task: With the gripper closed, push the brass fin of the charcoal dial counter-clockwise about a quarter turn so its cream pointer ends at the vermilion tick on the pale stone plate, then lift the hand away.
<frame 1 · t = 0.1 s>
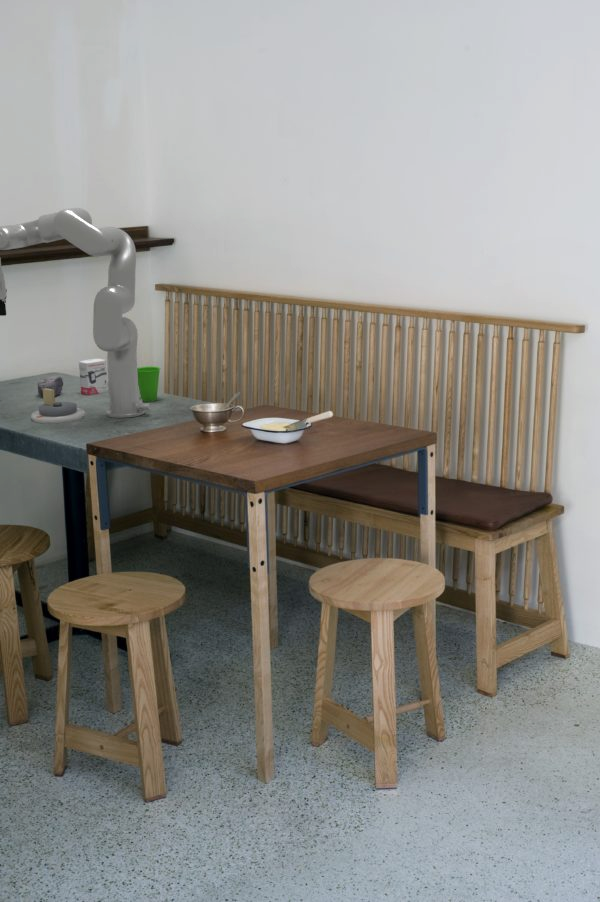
cup: (149, 400, 380), on the table
pumice stone: (50, 396, 392), on the table
dial: (56, 401, 356), point 5 cm above the table, hinge at 0.0°
plate: (58, 417, 357), on the table
ink box: (94, 393, 395), on the table
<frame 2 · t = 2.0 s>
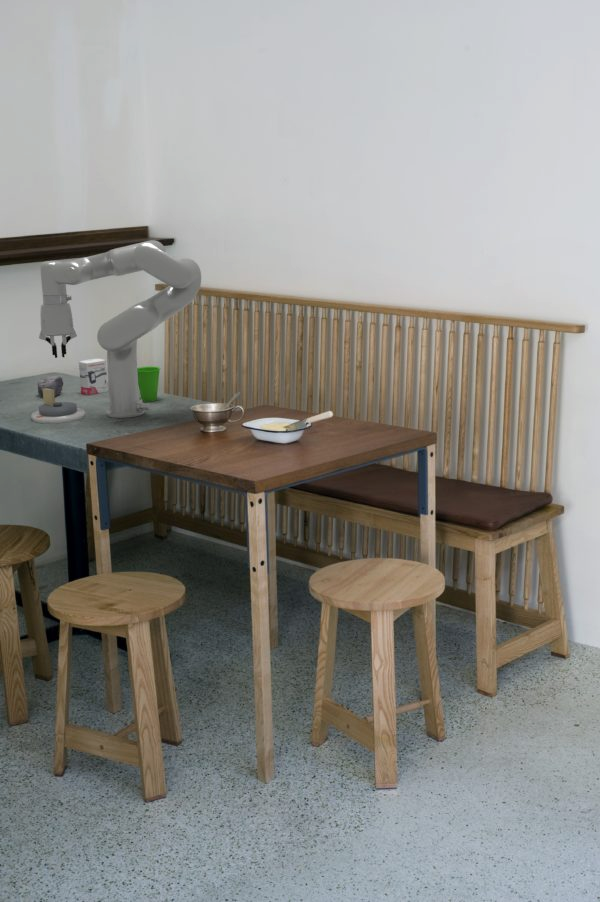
hand: (59, 356, 357), 19 cm above the table, fingers closed
nothing on the table moved.
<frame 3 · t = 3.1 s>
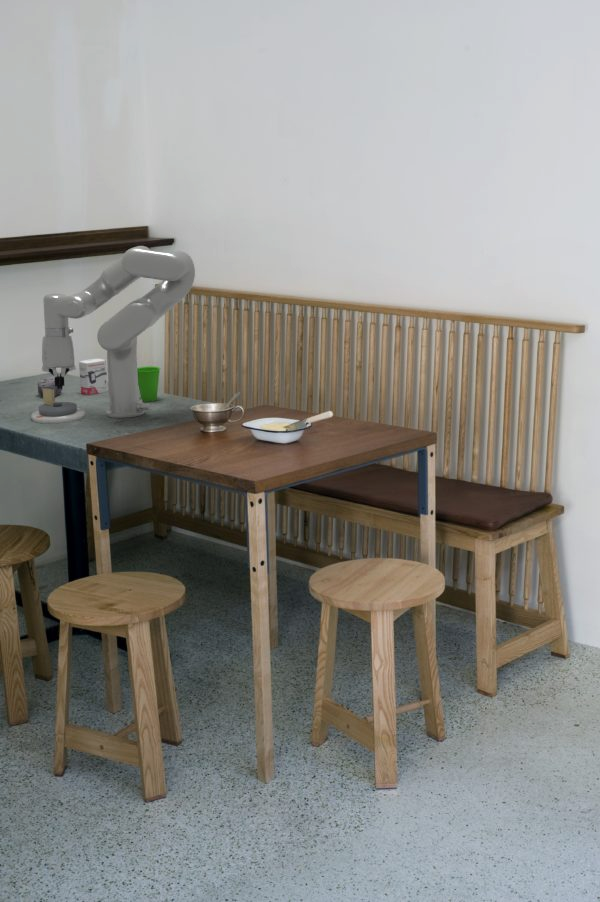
hand: (59, 388, 360), 9 cm above the table, fingers closed
nothing on the table moved.
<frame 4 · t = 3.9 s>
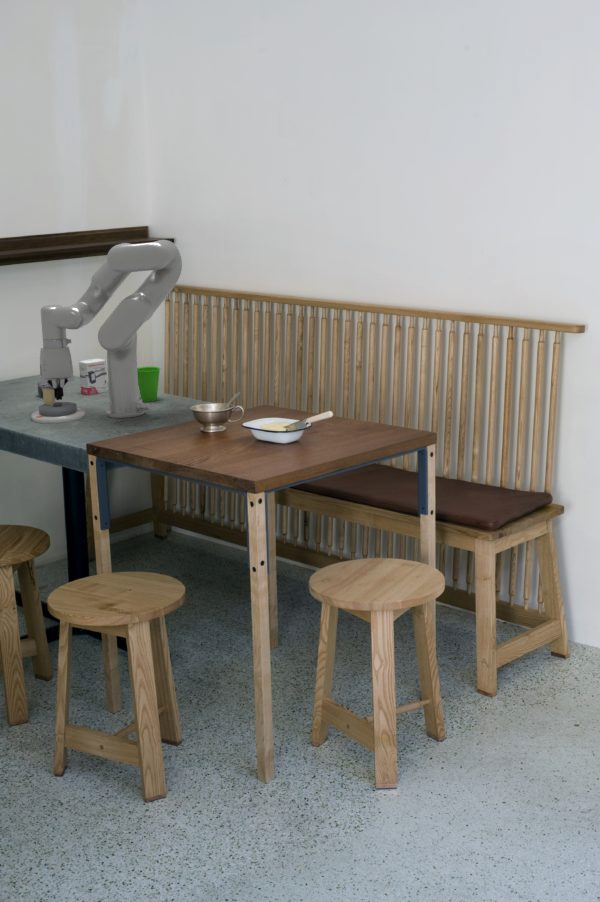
hand: (58, 399, 360), 5 cm above the table, fingers closed
dial: (56, 401, 356), point 5 cm above the table, hinge at 0.0°, touching gripper
everything else where it was.
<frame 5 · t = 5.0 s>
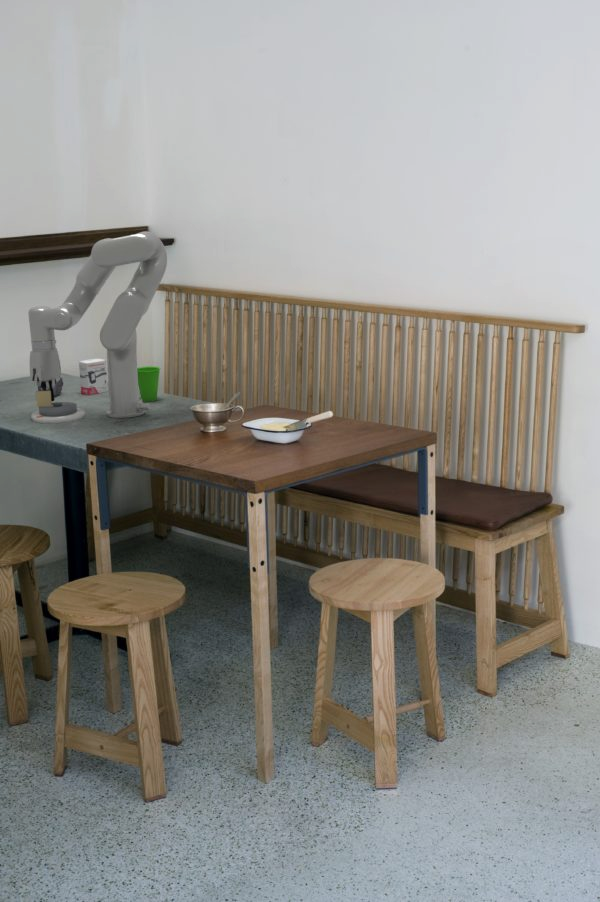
hand: (49, 401, 359), 5 cm above the table, fingers closed
dial: (56, 401, 356), point 5 cm above the table, hinge at 41.3°, touching gripper
everything else where it was.
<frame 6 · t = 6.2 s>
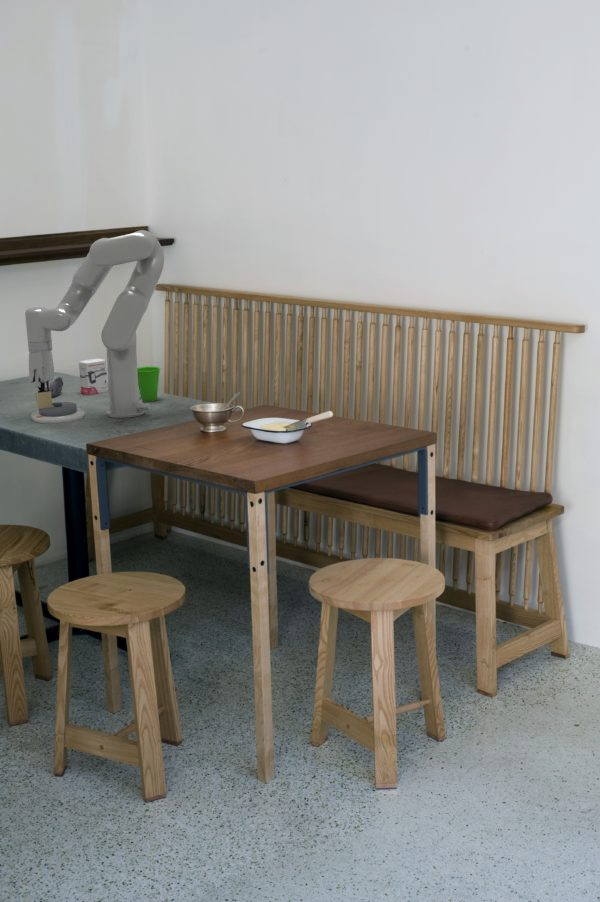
hand: (45, 402, 358), 5 cm above the table, fingers closed
dial: (56, 401, 356), point 5 cm above the table, hinge at 71.0°
everything else where it was.
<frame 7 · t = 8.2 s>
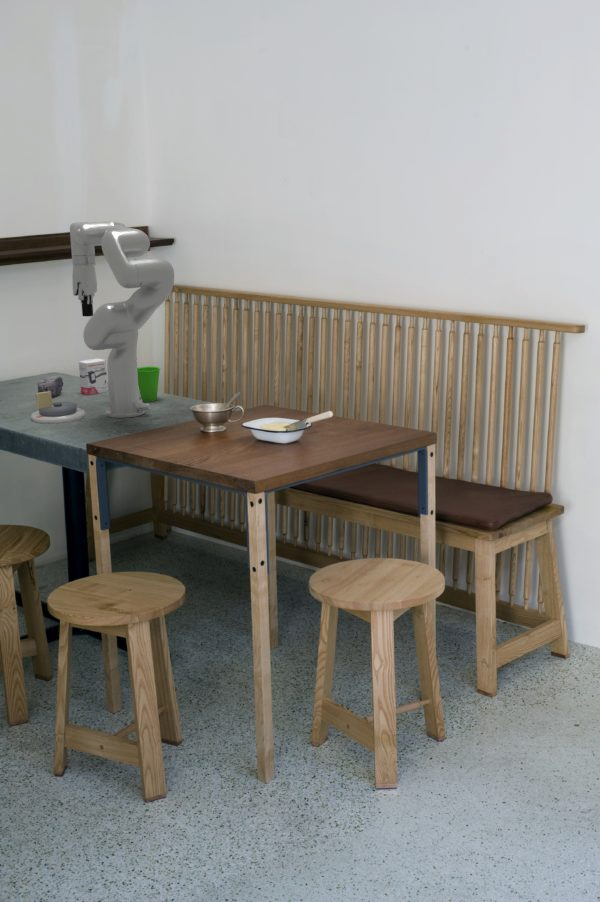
hand: (87, 315, 367), 30 cm above the table, fingers closed
nothing on the table moved.
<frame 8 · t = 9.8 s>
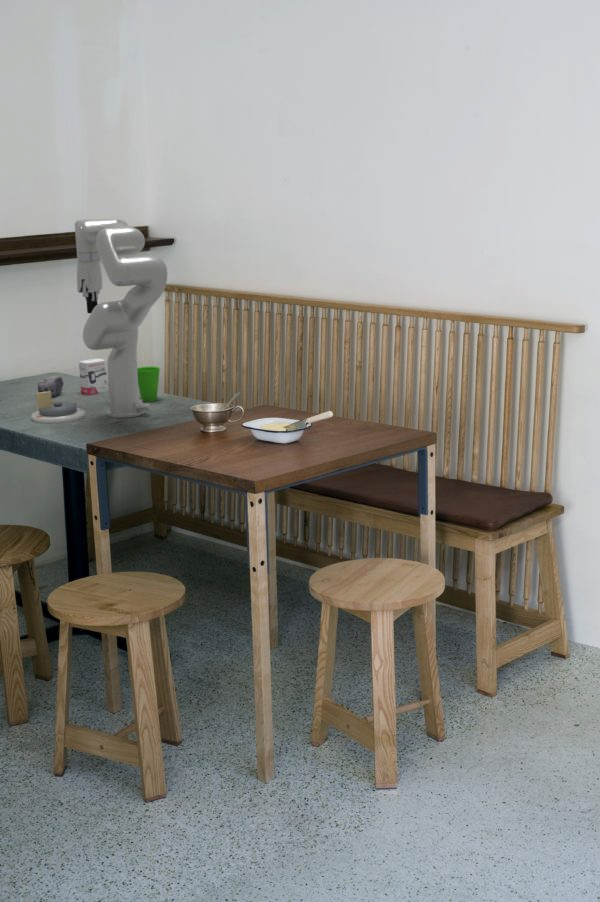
hand: (92, 312, 369), 31 cm above the table, fingers closed
nothing on the table moved.
at the end: dial at +71° (first picture: +0°) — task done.
